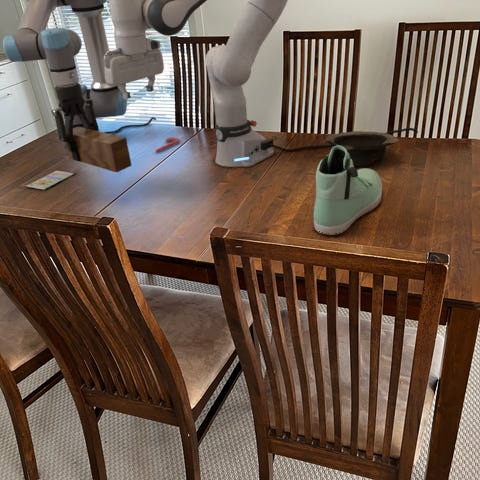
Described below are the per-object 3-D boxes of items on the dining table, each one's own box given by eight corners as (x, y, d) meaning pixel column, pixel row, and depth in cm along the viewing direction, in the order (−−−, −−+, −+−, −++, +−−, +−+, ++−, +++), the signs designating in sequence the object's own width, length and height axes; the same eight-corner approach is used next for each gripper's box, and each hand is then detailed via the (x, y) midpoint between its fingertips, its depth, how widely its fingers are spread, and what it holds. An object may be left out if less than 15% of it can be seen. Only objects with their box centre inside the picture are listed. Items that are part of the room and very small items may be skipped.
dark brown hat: (355, 177, 156) (355, 149, 151) (311, 159, 176) (310, 134, 172) (413, 158, 165) (414, 132, 160) (364, 143, 185) (364, 119, 180)
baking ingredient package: (25, 185, 168) (56, 169, 179) (25, 186, 168) (56, 171, 180) (43, 188, 164) (74, 172, 176) (44, 190, 165) (74, 173, 176)
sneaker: (389, 187, 148) (396, 123, 138) (356, 242, 123) (361, 168, 112) (346, 181, 154) (350, 119, 144) (306, 232, 129) (307, 161, 118)
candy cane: (146, 151, 191) (146, 147, 190) (171, 139, 201) (171, 135, 200) (157, 153, 188) (157, 150, 187) (182, 141, 198) (182, 137, 197)
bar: (69, 158, 157) (62, 132, 152) (84, 152, 161) (78, 126, 156) (116, 172, 144) (110, 143, 139) (131, 165, 148) (126, 137, 143)
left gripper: (47, 93, 136) (67, 169, 148) (100, 78, 148) (115, 149, 160) (32, 91, 140) (53, 164, 152) (85, 76, 152) (101, 145, 164)
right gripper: (110, 52, 129) (119, 104, 136) (164, 41, 142) (169, 88, 149) (95, 51, 132) (104, 101, 139) (149, 40, 146) (155, 86, 153)
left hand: (85, 156), depth 156 cm, fingers closed on bar, 6 cm apart
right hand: (139, 94), depth 144 cm, fingers open, 8 cm apart
